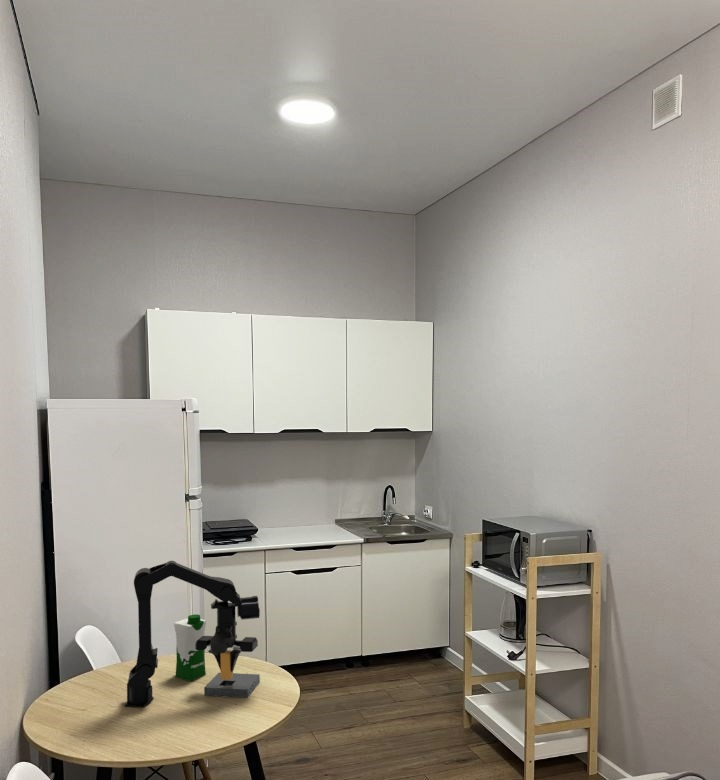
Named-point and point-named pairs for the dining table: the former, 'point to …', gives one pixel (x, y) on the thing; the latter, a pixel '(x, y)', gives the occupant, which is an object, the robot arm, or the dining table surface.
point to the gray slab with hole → (232, 685)
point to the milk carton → (189, 648)
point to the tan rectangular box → (226, 665)
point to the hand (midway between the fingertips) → (226, 671)
